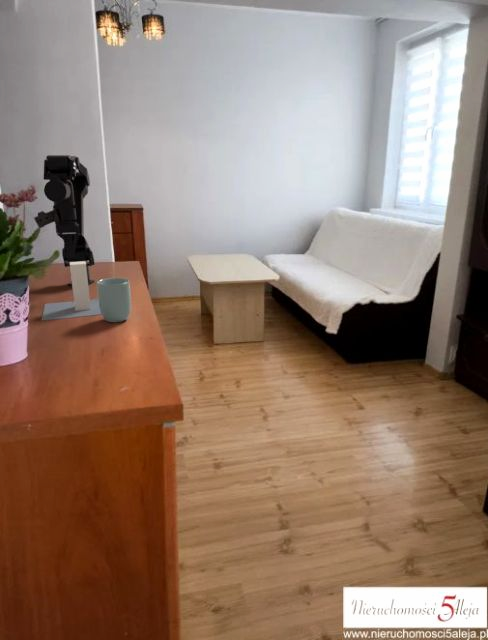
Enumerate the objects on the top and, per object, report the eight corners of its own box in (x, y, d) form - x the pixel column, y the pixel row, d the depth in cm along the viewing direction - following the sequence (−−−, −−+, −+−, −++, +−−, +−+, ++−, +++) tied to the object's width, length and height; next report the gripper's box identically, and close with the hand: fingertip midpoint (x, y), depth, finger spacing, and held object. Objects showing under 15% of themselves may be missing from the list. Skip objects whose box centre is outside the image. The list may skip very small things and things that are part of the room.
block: (75, 306, 126) (69, 262, 122) (90, 305, 127) (85, 261, 124) (75, 310, 123) (69, 264, 119) (90, 309, 124) (85, 263, 120)
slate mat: (45, 304, 129) (45, 303, 129) (118, 298, 135) (118, 297, 135) (41, 321, 115) (41, 320, 115) (123, 313, 121) (123, 312, 121)
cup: (102, 326, 110) (97, 286, 107) (99, 317, 117) (95, 279, 114) (134, 322, 113) (131, 283, 110) (129, 314, 120) (126, 276, 117)
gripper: (34, 200, 138) (41, 252, 142) (32, 202, 121) (40, 261, 126) (73, 200, 142) (79, 250, 146) (76, 201, 125) (82, 258, 130)
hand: (70, 254), depth 137 cm, fingers open, 9 cm apart
